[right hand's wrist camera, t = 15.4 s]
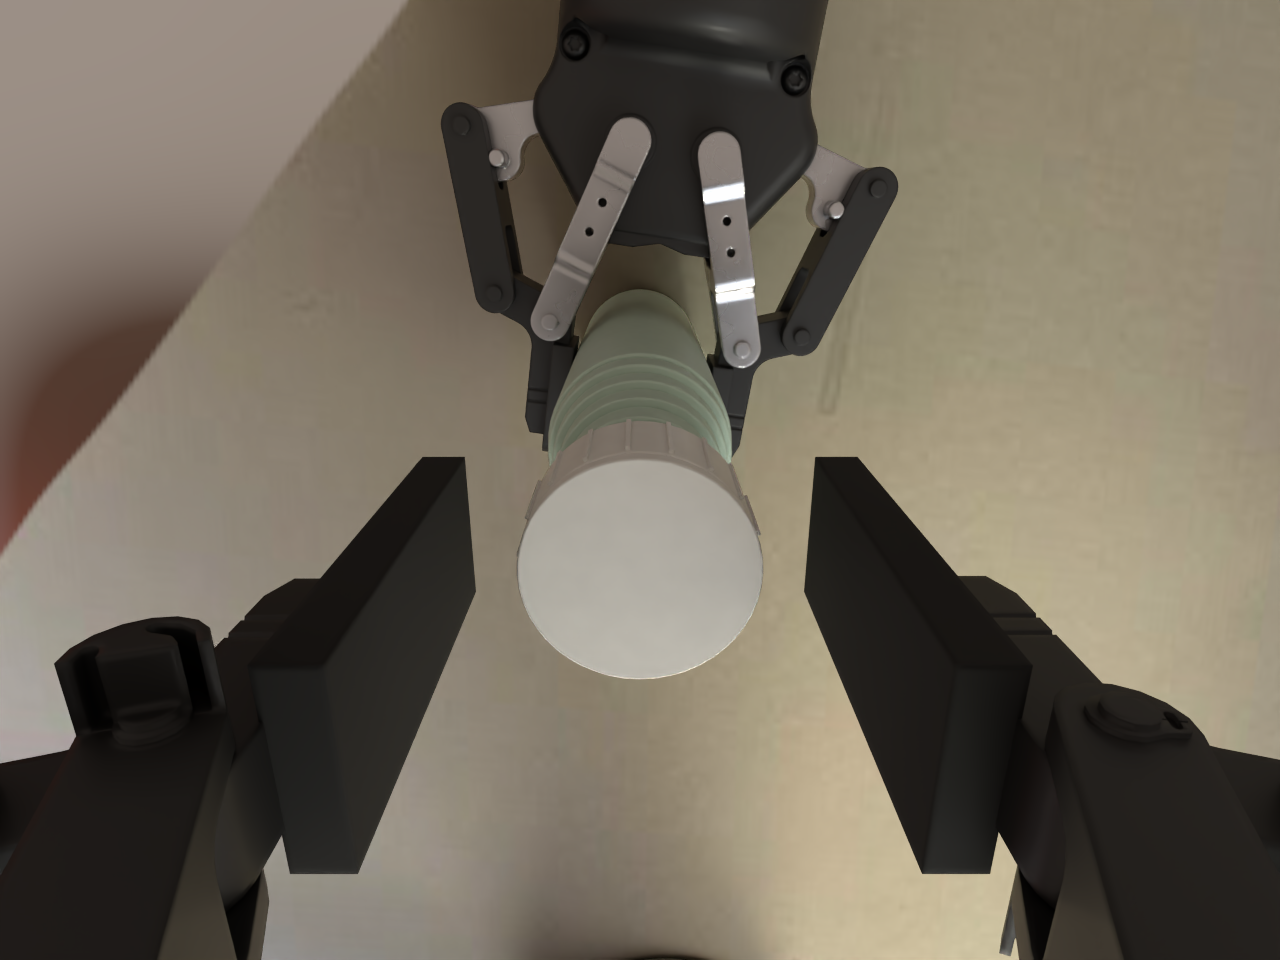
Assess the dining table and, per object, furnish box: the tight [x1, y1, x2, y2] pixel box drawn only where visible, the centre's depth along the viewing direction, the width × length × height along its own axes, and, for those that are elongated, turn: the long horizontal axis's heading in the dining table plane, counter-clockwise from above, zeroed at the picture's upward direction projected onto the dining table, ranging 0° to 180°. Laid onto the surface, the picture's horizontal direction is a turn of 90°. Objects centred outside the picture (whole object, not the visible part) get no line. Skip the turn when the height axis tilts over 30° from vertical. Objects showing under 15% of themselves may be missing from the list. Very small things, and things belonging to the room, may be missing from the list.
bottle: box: [548, 289, 732, 466], centre depth 22 cm, size 4×4×20 cm
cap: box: [517, 419, 763, 679], centre depth 13 cm, size 4×4×2 cm
